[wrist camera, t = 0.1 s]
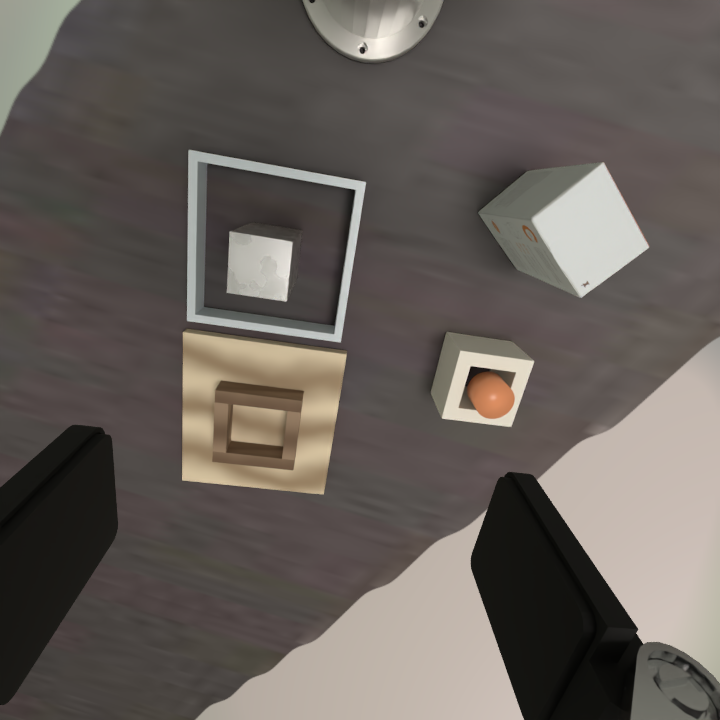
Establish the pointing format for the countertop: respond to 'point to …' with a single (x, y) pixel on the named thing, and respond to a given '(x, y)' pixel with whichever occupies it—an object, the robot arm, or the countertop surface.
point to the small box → (565, 226)
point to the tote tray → (198, 242)
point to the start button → (490, 395)
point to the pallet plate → (258, 411)
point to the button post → (477, 353)
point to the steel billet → (263, 261)
